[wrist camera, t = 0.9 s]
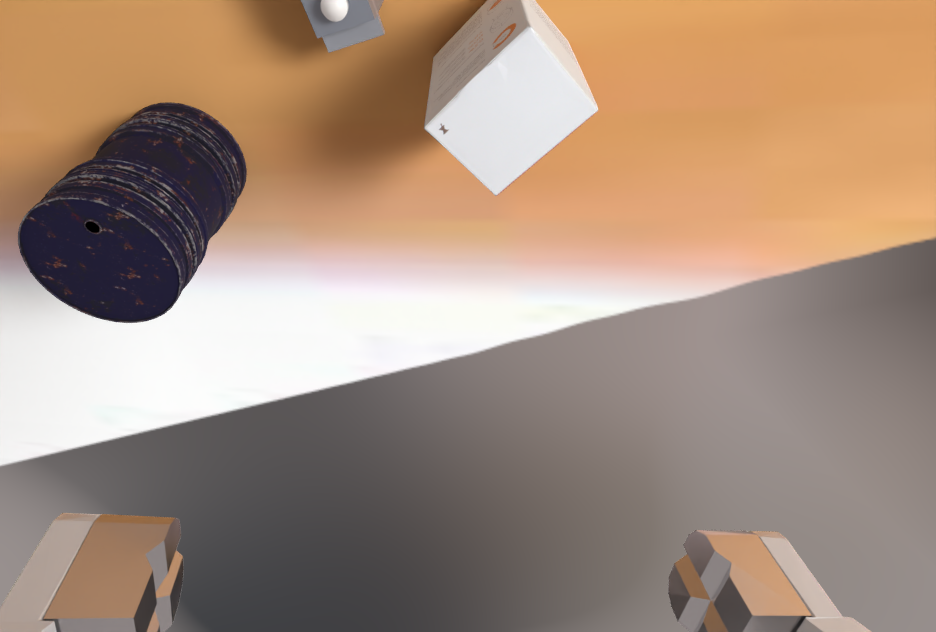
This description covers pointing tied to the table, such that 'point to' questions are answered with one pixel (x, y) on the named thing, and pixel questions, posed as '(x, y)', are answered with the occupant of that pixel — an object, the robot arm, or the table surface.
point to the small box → (506, 92)
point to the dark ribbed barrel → (135, 215)
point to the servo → (344, 21)
